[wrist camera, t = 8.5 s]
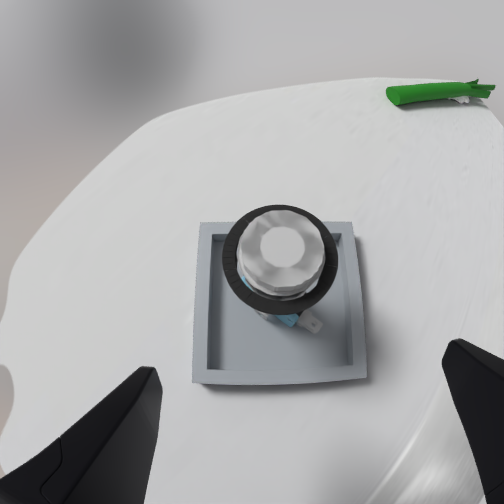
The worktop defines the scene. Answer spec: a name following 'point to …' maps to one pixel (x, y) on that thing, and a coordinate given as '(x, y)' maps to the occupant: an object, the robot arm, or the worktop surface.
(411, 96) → the green onion
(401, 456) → the worktop surface
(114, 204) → the worktop surface
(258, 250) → the push button
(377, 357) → the worktop surface
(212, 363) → the tray
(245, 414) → the worktop surface
